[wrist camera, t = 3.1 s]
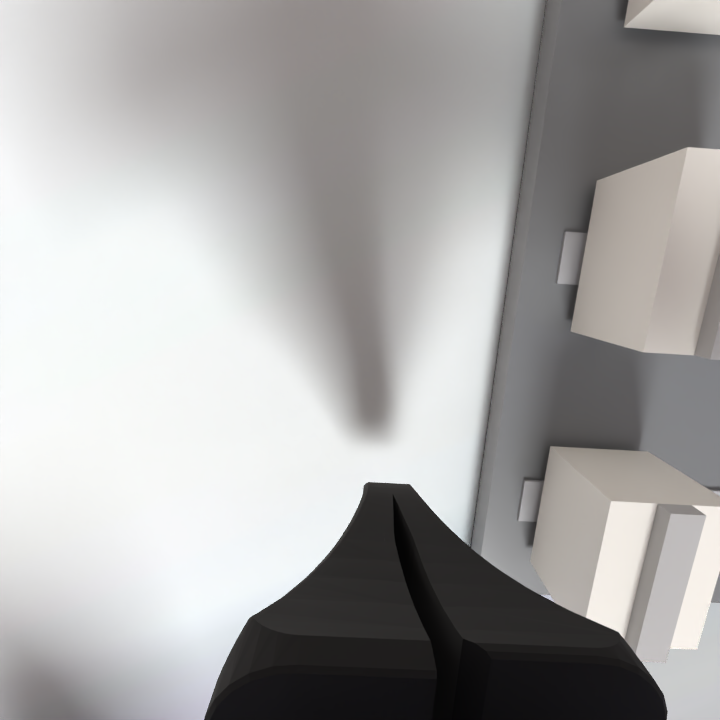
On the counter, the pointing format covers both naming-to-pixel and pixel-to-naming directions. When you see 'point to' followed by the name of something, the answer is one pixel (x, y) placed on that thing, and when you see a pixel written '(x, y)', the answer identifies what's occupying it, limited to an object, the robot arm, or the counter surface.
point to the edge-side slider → (674, 15)
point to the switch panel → (563, 268)
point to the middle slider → (655, 257)
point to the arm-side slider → (629, 546)
